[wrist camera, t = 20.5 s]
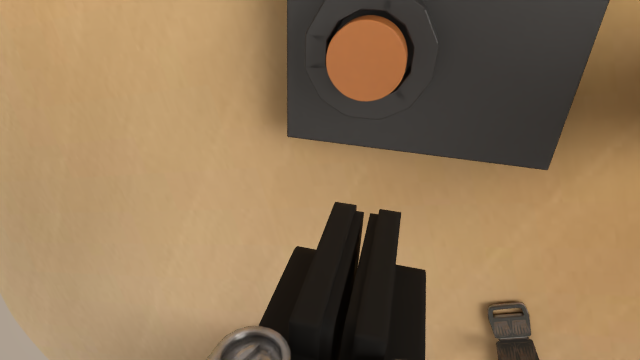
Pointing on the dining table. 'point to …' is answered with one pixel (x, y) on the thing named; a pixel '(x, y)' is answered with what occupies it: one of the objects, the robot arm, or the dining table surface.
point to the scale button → (367, 58)
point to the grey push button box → (449, 76)
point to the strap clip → (512, 333)
